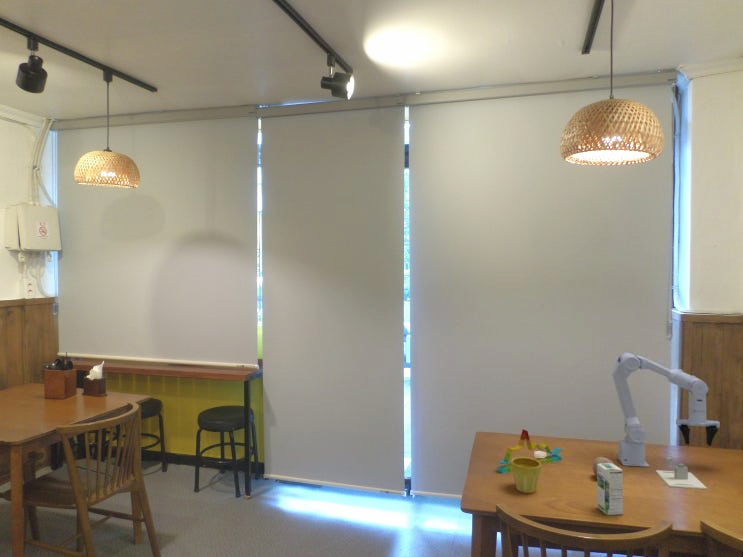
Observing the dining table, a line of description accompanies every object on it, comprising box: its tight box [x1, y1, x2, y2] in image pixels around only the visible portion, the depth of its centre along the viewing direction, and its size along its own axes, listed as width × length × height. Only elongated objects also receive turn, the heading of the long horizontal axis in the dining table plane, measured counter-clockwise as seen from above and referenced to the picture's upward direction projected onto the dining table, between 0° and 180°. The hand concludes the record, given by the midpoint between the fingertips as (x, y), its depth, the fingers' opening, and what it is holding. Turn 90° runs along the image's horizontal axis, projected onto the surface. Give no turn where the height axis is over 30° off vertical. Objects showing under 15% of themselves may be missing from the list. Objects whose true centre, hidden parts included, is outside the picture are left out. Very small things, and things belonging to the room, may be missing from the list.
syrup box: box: [596, 463, 624, 516], centre depth 158 cm, size 6×6×14 cm
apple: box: [592, 456, 615, 477], centre depth 183 cm, size 8×8×8 cm
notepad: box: [655, 469, 708, 490], centre depth 181 cm, size 12×14×1 cm
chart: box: [497, 428, 563, 474], centre depth 197 cm, size 30×3×15 cm, turn 114°
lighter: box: [665, 455, 689, 479], centre depth 181 cm, size 7×2×8 cm, turn 87°
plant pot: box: [510, 456, 542, 494], centre depth 176 cm, size 10×10×10 cm
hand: (697, 444), depth 191 cm, fingers open, 7 cm apart
